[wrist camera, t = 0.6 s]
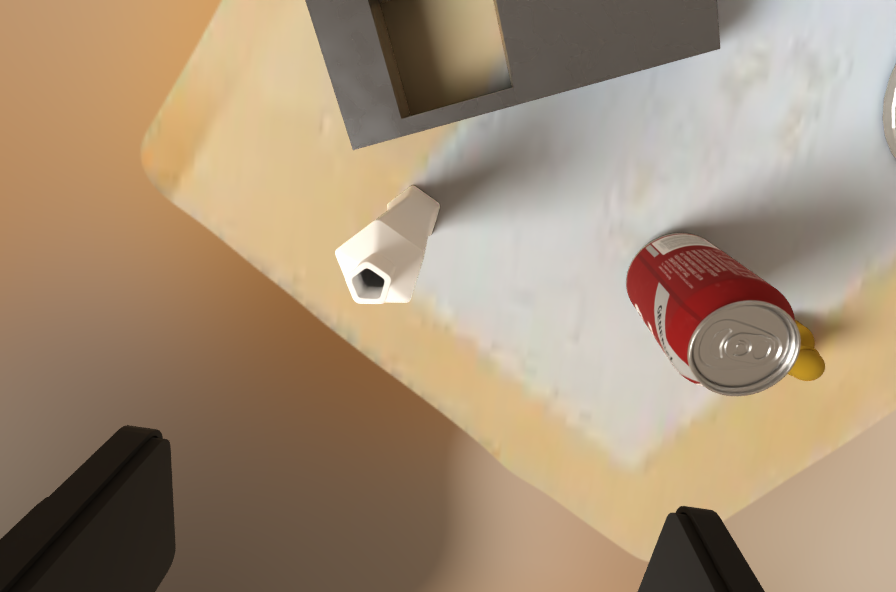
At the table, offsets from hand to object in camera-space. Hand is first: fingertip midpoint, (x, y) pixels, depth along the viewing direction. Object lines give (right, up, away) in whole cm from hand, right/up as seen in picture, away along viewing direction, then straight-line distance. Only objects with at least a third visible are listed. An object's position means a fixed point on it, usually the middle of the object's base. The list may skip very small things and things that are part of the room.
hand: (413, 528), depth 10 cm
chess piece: (+26, +1, +30) cm, 39 cm away
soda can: (+17, +6, +29) cm, 34 cm away
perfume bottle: (-2, +10, +28) cm, 30 cm away
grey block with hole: (+4, +21, +23) cm, 32 cm away
